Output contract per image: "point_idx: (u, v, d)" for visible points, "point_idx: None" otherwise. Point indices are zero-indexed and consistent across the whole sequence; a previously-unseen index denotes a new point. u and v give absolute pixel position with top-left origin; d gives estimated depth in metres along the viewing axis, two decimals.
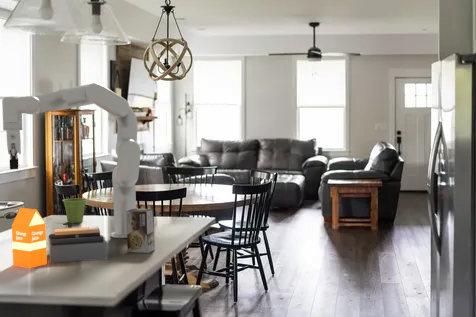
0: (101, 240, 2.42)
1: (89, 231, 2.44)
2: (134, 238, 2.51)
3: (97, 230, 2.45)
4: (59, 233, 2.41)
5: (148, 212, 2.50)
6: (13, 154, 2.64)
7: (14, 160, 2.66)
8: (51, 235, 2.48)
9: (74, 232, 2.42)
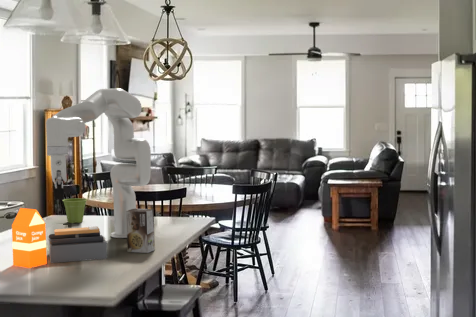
0: (101, 240, 2.42)
1: (89, 231, 2.44)
2: (134, 238, 2.51)
3: (97, 230, 2.45)
4: (59, 233, 2.41)
5: (148, 212, 2.50)
6: (59, 183, 2.35)
7: (60, 189, 2.37)
8: (51, 235, 2.48)
9: (74, 232, 2.42)
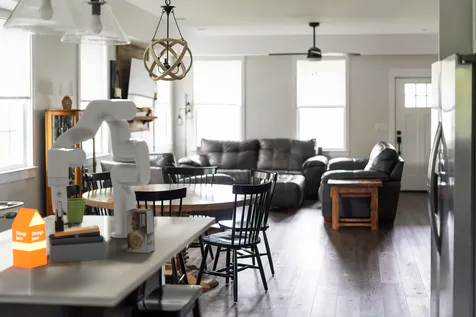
0: (101, 240, 2.42)
1: (89, 230, 2.44)
2: (134, 238, 2.51)
3: (97, 229, 2.45)
4: (59, 234, 2.41)
5: (148, 212, 2.50)
6: None
7: (60, 222, 2.42)
8: (51, 235, 2.48)
9: (74, 232, 2.42)
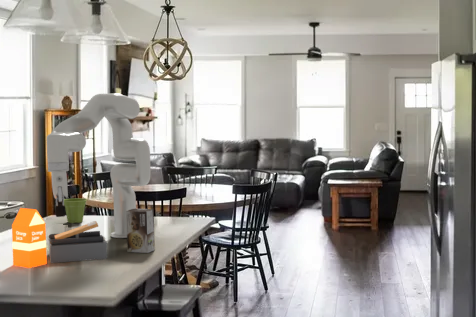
0: (101, 240, 2.42)
1: (88, 228, 2.44)
2: (134, 238, 2.51)
3: (95, 225, 2.45)
4: (59, 238, 2.41)
5: (148, 212, 2.50)
6: None
7: (61, 207, 2.42)
8: (51, 235, 2.48)
9: (74, 233, 2.42)
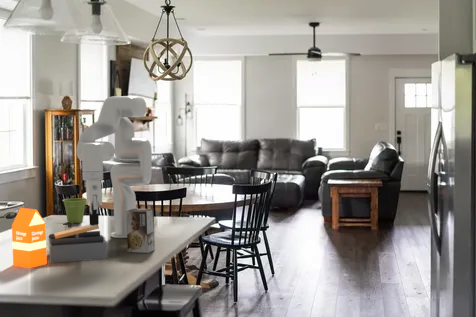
0: (101, 240, 2.42)
1: (88, 229, 2.44)
2: (134, 238, 2.51)
3: (96, 227, 2.45)
4: (59, 236, 2.41)
5: (148, 212, 2.50)
6: None
7: (95, 215, 2.46)
8: (51, 235, 2.48)
9: (74, 233, 2.42)
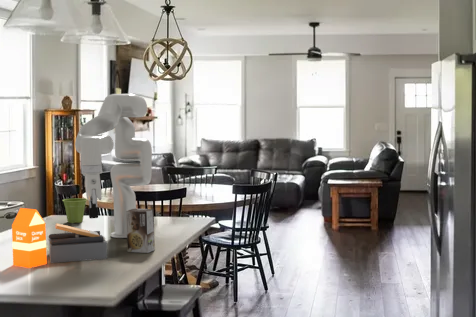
0: (101, 240, 2.42)
1: (89, 234, 2.44)
2: (134, 238, 2.51)
3: (97, 236, 2.45)
4: (60, 228, 2.41)
5: (148, 212, 2.50)
6: None
7: (94, 209, 2.46)
8: (51, 235, 2.48)
9: (75, 231, 2.42)
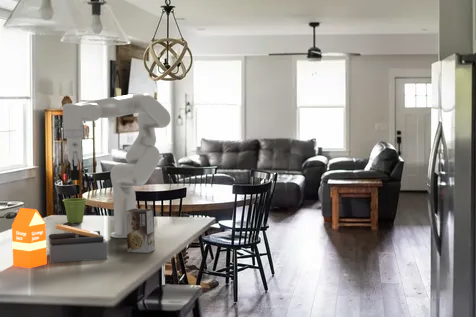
0: (101, 240, 2.42)
1: (89, 235, 2.44)
2: (134, 238, 2.51)
3: (97, 236, 2.45)
4: (60, 228, 2.41)
5: (148, 212, 2.50)
6: None
7: (75, 171, 2.63)
8: (51, 235, 2.48)
9: (75, 231, 2.42)
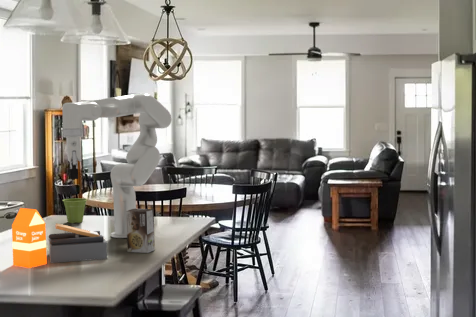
0: (101, 240, 2.42)
1: (89, 235, 2.44)
2: (134, 238, 2.51)
3: (97, 236, 2.45)
4: (60, 228, 2.41)
5: (148, 212, 2.50)
6: None
7: (74, 170, 2.64)
8: (51, 235, 2.48)
9: (75, 231, 2.42)
